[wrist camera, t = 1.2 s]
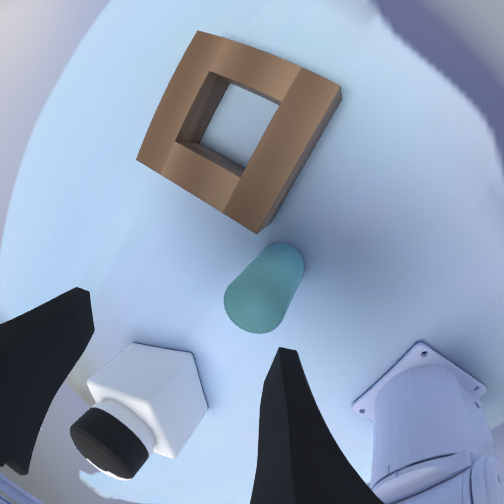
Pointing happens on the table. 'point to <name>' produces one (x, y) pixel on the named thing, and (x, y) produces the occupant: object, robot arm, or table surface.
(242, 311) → the peg
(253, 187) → the socket block
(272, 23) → the table surface
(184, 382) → the medicine bottle
